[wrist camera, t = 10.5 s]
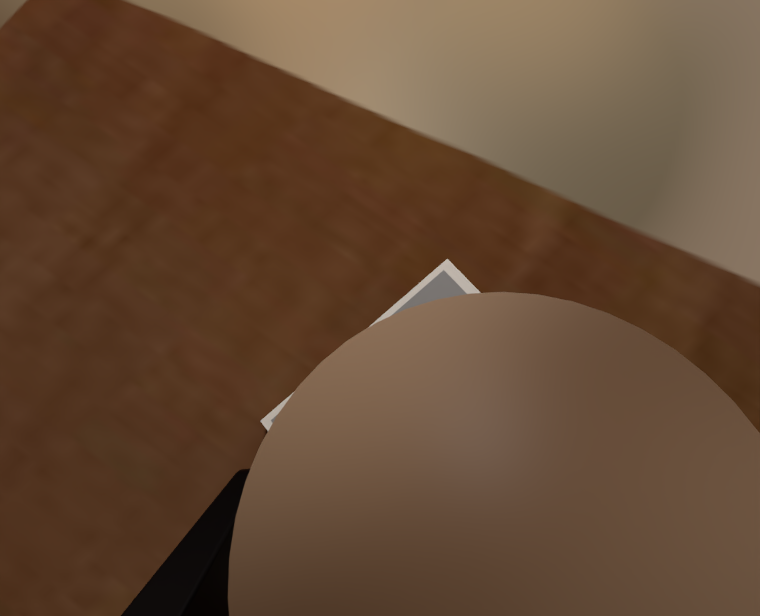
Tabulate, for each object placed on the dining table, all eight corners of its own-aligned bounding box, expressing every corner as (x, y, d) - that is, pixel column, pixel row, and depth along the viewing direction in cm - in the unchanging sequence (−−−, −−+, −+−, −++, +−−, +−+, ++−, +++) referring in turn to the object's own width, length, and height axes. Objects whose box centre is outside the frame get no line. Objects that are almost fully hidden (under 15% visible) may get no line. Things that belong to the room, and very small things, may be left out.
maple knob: (528, 432, 16) (972, 607, 3) (431, 532, 16) (529, 1152, 3) (432, 335, 17) (500, 193, 5) (338, 425, 17) (120, 548, 4)
